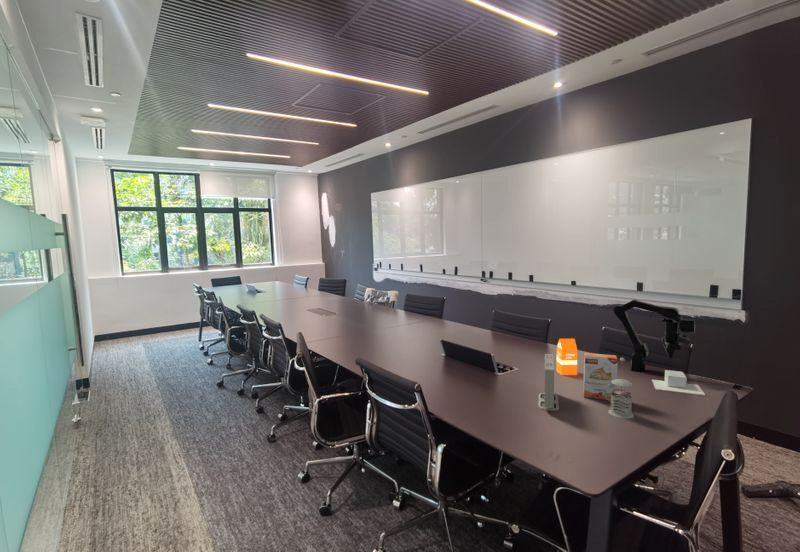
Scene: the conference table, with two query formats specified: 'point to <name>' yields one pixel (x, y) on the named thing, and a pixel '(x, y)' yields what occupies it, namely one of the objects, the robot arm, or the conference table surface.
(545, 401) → the network device
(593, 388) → the cracker box
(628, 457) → the conference table surface
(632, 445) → the conference table surface
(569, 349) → the orange juice
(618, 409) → the french press
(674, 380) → the small box
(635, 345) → the robot arm
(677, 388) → the grey mat
